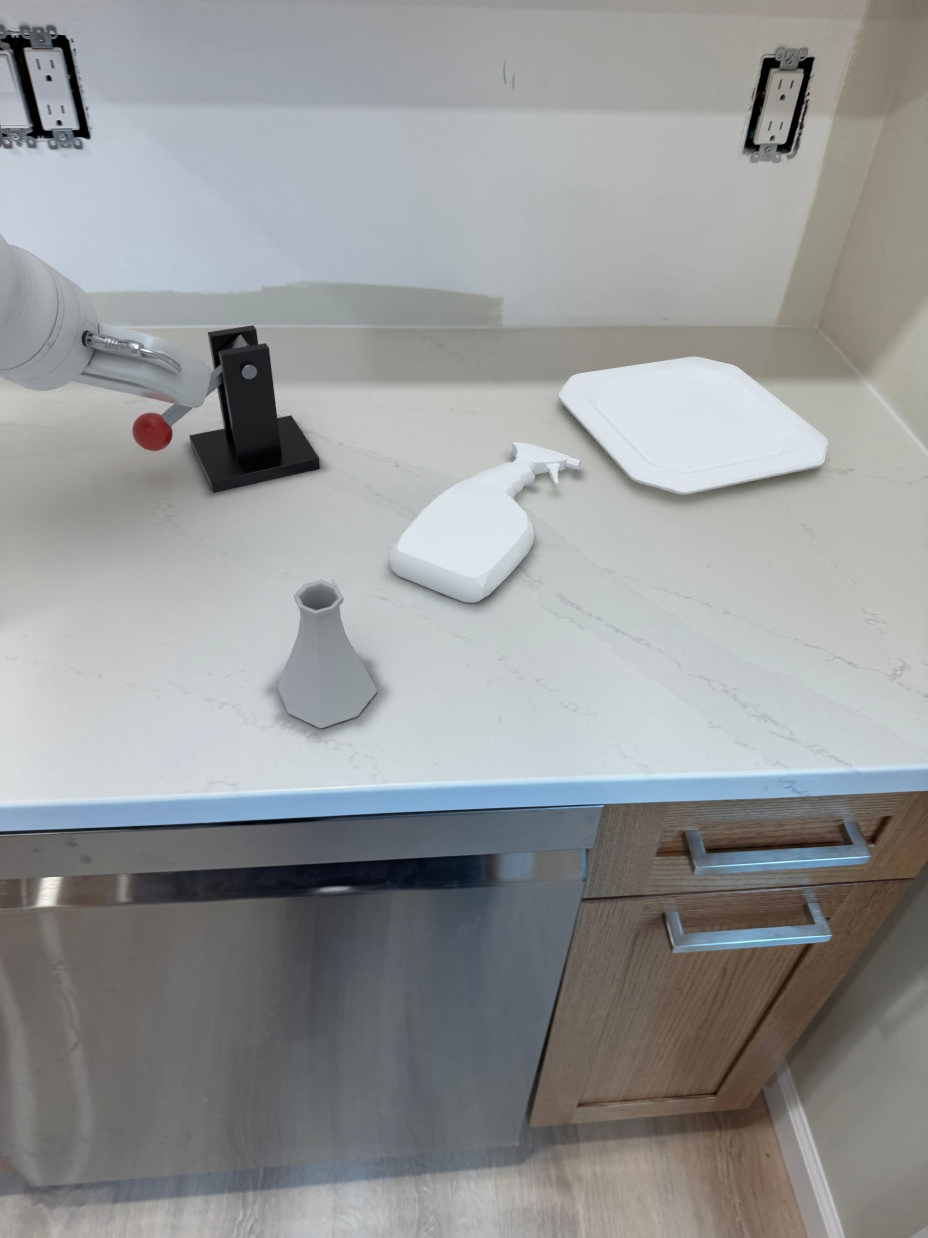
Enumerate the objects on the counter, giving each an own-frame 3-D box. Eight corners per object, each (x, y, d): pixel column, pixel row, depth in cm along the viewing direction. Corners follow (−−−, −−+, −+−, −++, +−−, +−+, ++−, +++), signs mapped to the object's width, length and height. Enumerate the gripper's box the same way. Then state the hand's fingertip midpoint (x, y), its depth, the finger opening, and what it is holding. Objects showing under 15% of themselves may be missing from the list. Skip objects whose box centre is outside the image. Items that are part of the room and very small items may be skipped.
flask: (335, 643, 67) (328, 547, 60) (394, 693, 63) (393, 599, 56) (260, 688, 63) (243, 592, 56) (318, 745, 59) (307, 650, 52)
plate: (648, 515, 81) (652, 497, 80) (541, 394, 97) (543, 377, 96) (845, 473, 89) (853, 455, 87) (715, 367, 105) (719, 350, 103)
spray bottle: (377, 571, 73) (499, 447, 89) (486, 615, 70) (592, 478, 86) (377, 545, 71) (501, 423, 87) (489, 589, 68) (596, 454, 84)
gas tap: (213, 492, 80) (189, 371, 71) (191, 445, 86) (166, 328, 77) (320, 468, 84) (310, 351, 75) (292, 425, 90) (280, 310, 81)
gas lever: (156, 464, 79) (127, 441, 76) (148, 445, 81) (120, 422, 78) (269, 369, 77) (245, 342, 75) (258, 353, 80) (234, 326, 77)
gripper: (166, 308, 59) (250, 373, 72) (-72, 261, 62) (51, 332, 76) (144, 393, 59) (232, 443, 72) (-92, 342, 62) (34, 398, 76)
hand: (138, 386), depth 74 cm, fingers closed
